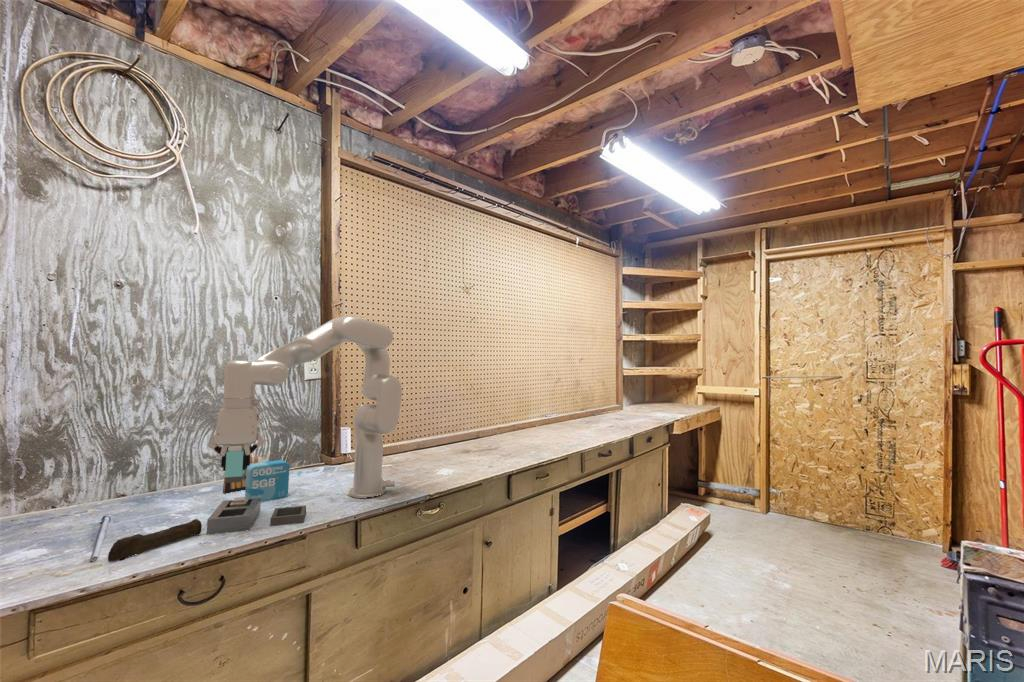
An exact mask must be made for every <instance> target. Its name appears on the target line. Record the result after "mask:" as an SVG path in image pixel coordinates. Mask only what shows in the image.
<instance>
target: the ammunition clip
mask: <svg viewBox="0 0 1024 682" xmlns="http://www.w3.org/2000/svg"><path fill="white" fill-rule="evenodd" d="M254 463H259V457H258V454H257V453H256V454H255V456H254V458H253V455H251V454H250V464H254ZM246 469H247V468H246ZM245 487H246V470H245V478H244V479H243V481H242V482H231V483H225V477H224V480H223V487H222V493H223V494H225V495H226V493H227V494H231V492H232V493H236V491H237V492H242V491H241V490H243V491H245Z"/></svg>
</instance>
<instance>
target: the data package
mask: <svg viewBox="0 0 1024 682" xmlns="http://www.w3.org/2000/svg"><path fill="white" fill-rule="evenodd" d="M289 479H290V463H288V462H287V461H285V460H283V459H278V460H273V461H272V460H271V461H261V462H258V463H254V462H253V464H250V465H249V466H248V467H247V469H246V487H245V490H244V497H246V499H251V498H261V503H262V502H267V501H272V500H279V499H284V498H285V497H287V496H288V494H289V485H290V484H289V482H290V481H289Z"/></svg>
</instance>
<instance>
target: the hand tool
mask: <svg viewBox="0 0 1024 682" xmlns="http://www.w3.org/2000/svg"><path fill="white" fill-rule="evenodd" d="M202 527H203V526H202V522H201V521H200V520H199V519H198V518H197V519H196V518H195V519H193V520H191V521H189V522H186V523H181V524H179V525H174V526H171V527H169V528H166V529H163V530H159V531H155V532H152V533H148V534H141V533H140V534H139V533H137V534H134V535H131V536H125V537H122V538H120V539H117V540H116V541H115V542H114V543H113V545H112V547H111V548H110V550H109V551H108V554H107V561H108V562H111V561H112V562H113V561H117V560H118V561H119V560H122V559H123V558H124V559H125V558H126V557H127V558H130V557H133V556H132V555H134V556H136V555H135V554H138V555H140V554H141V553H142V552H144V551H145V550H149V549H151V548H155V547H158V546H162V545H164V544H168V543H170V542H175V541H178V540H180V539H184V538H187V537H190V536H192V535H193V536H194V535H197V534H198V536H200V535H201V534H202ZM199 534H200V535H199ZM139 553H140V554H139ZM129 556H130V557H129Z"/></svg>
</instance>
